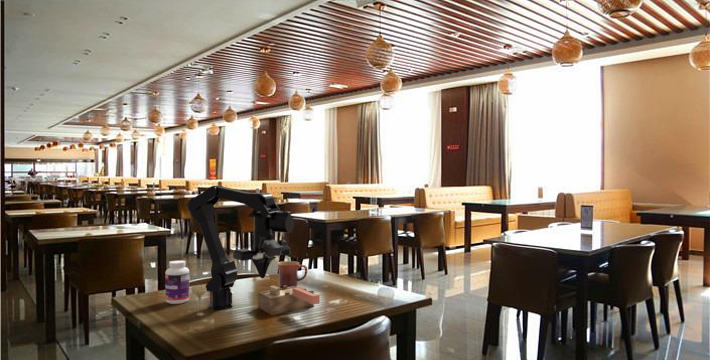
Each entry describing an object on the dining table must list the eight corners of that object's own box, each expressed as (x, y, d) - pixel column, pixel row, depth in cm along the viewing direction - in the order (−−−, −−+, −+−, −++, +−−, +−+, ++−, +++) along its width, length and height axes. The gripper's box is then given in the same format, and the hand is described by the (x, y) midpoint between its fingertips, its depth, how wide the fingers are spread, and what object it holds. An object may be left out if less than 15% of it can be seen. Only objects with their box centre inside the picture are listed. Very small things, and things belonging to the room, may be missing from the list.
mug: (274, 291, 187) (274, 265, 187) (280, 286, 196) (280, 260, 195) (305, 292, 186) (304, 265, 186) (309, 286, 194) (309, 261, 194)
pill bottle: (160, 303, 171) (160, 262, 171) (178, 297, 178) (177, 259, 178) (176, 305, 167) (176, 264, 167) (194, 300, 175) (193, 260, 174)
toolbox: (271, 315, 156) (270, 295, 156) (258, 308, 164) (258, 289, 164) (313, 306, 165) (313, 288, 165) (299, 300, 173) (299, 283, 173)
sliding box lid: (272, 300, 158) (272, 290, 158) (263, 295, 164) (263, 286, 164) (310, 293, 166) (310, 284, 166) (300, 289, 172) (300, 280, 172)
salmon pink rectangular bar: (312, 304, 147) (312, 296, 147) (291, 295, 159) (291, 287, 159) (319, 303, 149) (319, 294, 149) (298, 294, 160) (297, 286, 160)
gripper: (250, 236, 147) (250, 287, 147) (300, 231, 159) (299, 278, 160) (232, 232, 155) (232, 280, 155) (281, 228, 168) (280, 272, 168)
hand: (262, 278), depth 159 cm, fingers closed
